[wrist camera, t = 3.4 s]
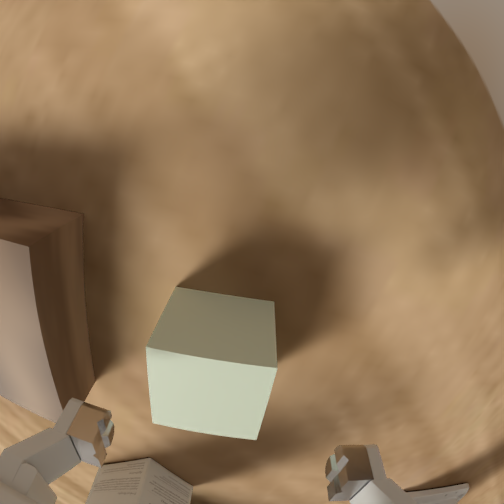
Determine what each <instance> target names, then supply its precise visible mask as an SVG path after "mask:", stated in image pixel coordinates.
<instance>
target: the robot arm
mask: <svg viewBox="0 0 504 504" xmlns="http://www.w3.org/2000/svg"><path fill="white" fill-rule="evenodd" d="M111 417H112V415H111V411H110V410H107V409H104V408H101V407H98V406H95V405H92V404H89V403H86V402H84V401H81V400H78V399H75V398H71V399H70V400H69V401H68V403H67V405H66V407H65V408H64V410H63V412H62V414H61V415H60V417H59V419H58V421H57V422H56V424H55V426H54V428H53V429H52V428H48V429H46V430H44V431H42V432H40V433H37V434H35V435H33V436H31V437H29V438H27V439H25V440H23V441H21V442H19V443H17V444H15V445H12V446H10V447H8V448H6V449H4V450H3V452H2V454H1V456H0V504H55V502H56V499H57V496H56V494H55V493H54V492H53V490H52V489H51V488H50V487H49V485H48V484H50V483H51V482H53V481H54V480H56V479H57V478H59V477H60V476H62V475H63V474H65V473H66V472H67V471H69V470H70V469H72V468H73V467H75V466H76V465H77V464H79V463H80V462H81V461H83V462H86V463H89V464H91V465H94V466H97V467H100V468H102V466H103V463H104V461H105V458H106V455H107V453H106V450H105V448H106V447H108V446H110V445H111V443H112V440H113V436H114V424H113V422H112V421H111V420H110V419H111ZM334 451H335V454H333V455H332V456H330V457H329V459H328V460H327V463H326V467H325V474H326V478H327V479H328V480H329V481H330V484H329V485H328V487H327V490H328V497H329V501H346V500H350V501H349V502H350V503H351V504H458V501H459V500H460V499H461V498H462V497H463V496H464V495H465V494H466V493H467V492H468V490H469V485H468V483H465V484H460V485H455V486H449V487H444V488H437V489H430V490H423V491H414V492H405V491H404V490H402V489H401V488H400V487H399V486H398V485H397V484H396V483H395V482H394V481H393V480H392V479H390V478H387V477H386V474H385V470H384V466H383V463H382V459H381V456H380V452H379V449H378V446H377V445H374V444H372V445H339V446H337V447H336V449H335V450H334Z"/></svg>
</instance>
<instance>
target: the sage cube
mask: <svg viewBox="0 0 504 504" xmlns="http://www.w3.org/2000/svg"><path fill="white" fill-rule="evenodd" d="M146 356H147V370H148V383H149V394H150V404H151V413H152V421H153V423H155V424H159V425H164V426H168V427H173V428H178V429H183V430H189V431H194V432H200V433H206V434H212V435H219V436H226V437H234V438H242V439H251V440H257V437H258V433H259V430H260V427H261V423H262V420H263V417H264V413H265V410H266V407H267V403H268V400H269V396H270V393H271V389H272V386H273V382H274V379H275V375H276V371H277V348H276V327H275V308H274V302H273V301H266V300H259V299H252V298H245V297H238V296H232V295H225V294H219V293H212V292H206V291H200V290H194V289H188V288H182V287H175V289H174V291H173V293H172V295H171V297H170V299H169V301H168V303H167V305H166V307H165V309H164V311H163V313H162V315H161V317H160V319H159V321H158V323H157V325H156V327H155V329H154V331H153V333H152V335H151V337H150V339H149V341H148V344H147V346H146Z"/></svg>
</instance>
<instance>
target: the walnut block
mask: <svg viewBox="0 0 504 504" xmlns="http://www.w3.org/2000/svg"><path fill="white" fill-rule="evenodd" d="M83 216H84V214H82V213H77V212H72V211H66V210H61V209H56V208H51V207H45V206H40V205H35V204H29V203H24V202H19V201H13V200H8V199H3V198H0V395H1V396H2V397H4V398H6V399H8V400H10V401H11V402H13V403H15V404H17V405H19V406H21V407H23V408H25V409H27V410H29V411H31V412H33V413H35V414H37V415H39V416H41V417H43V418H45V419H48V420H50V421H52V422H54V423H56V422H57V421H58V419H59V417H60V415H61V414H62V412H63V410H64V408H65V407H66V405H67V403H68V401H69V400H70V399H71V398H75V399H78V400H81V401H85V399H86V397H87V395H88V394H89V392H90V390H91V388H92V386H93V385H94V383H95V375H94V369H93V362H92V355H91V348H90V340H89V331H88V322H87V311H86V299H85V283H84V258H83Z"/></svg>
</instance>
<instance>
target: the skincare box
mask: <svg viewBox="0 0 504 504" xmlns="http://www.w3.org/2000/svg"><path fill="white" fill-rule="evenodd" d="M192 490H193V486H192V485H190V484H189V483H187V482H185V481H184V480H182V479H181V478H179V477H178V476H176V475H174V474H173V473H171V472H170V471H169V470H167V469H166V468H164V467H163V466H161V465H160V464H158V463H157V462H156V461H154V460H153V459H151V458H145V459H140V460H134V461H128V462H122V463H115V464H107V465H103V466H102V468H100V467H99V469H98V472H97V474H96V477H95V480H94V482H93V485H92V488H91V490H90V493H89V496H88V498H87V501H86V504H190V501H191V496H192Z"/></svg>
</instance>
